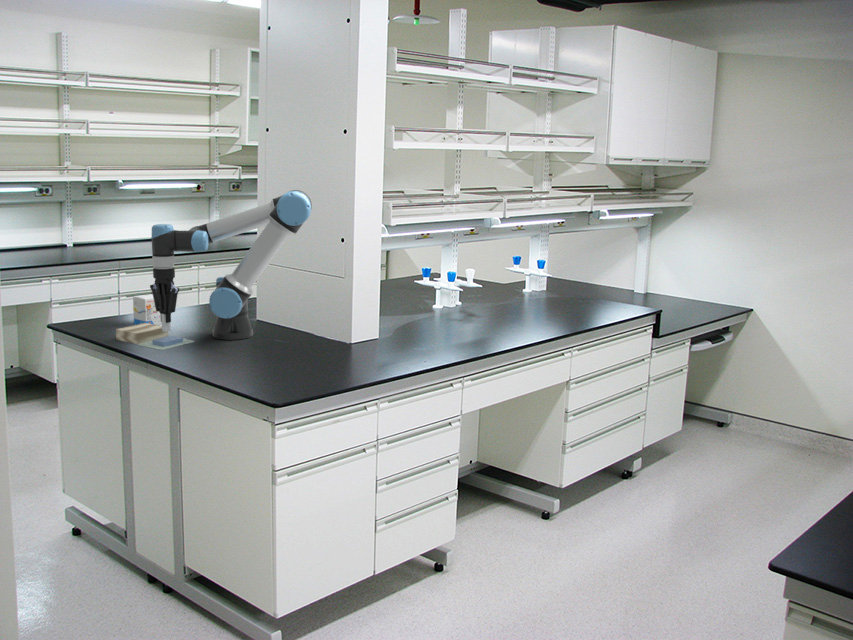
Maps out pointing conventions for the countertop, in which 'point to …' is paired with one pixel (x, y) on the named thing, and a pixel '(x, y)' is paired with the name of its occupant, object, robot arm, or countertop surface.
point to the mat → (150, 345)
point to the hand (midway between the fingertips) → (166, 330)
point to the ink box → (145, 310)
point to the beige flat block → (140, 333)
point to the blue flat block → (167, 341)
